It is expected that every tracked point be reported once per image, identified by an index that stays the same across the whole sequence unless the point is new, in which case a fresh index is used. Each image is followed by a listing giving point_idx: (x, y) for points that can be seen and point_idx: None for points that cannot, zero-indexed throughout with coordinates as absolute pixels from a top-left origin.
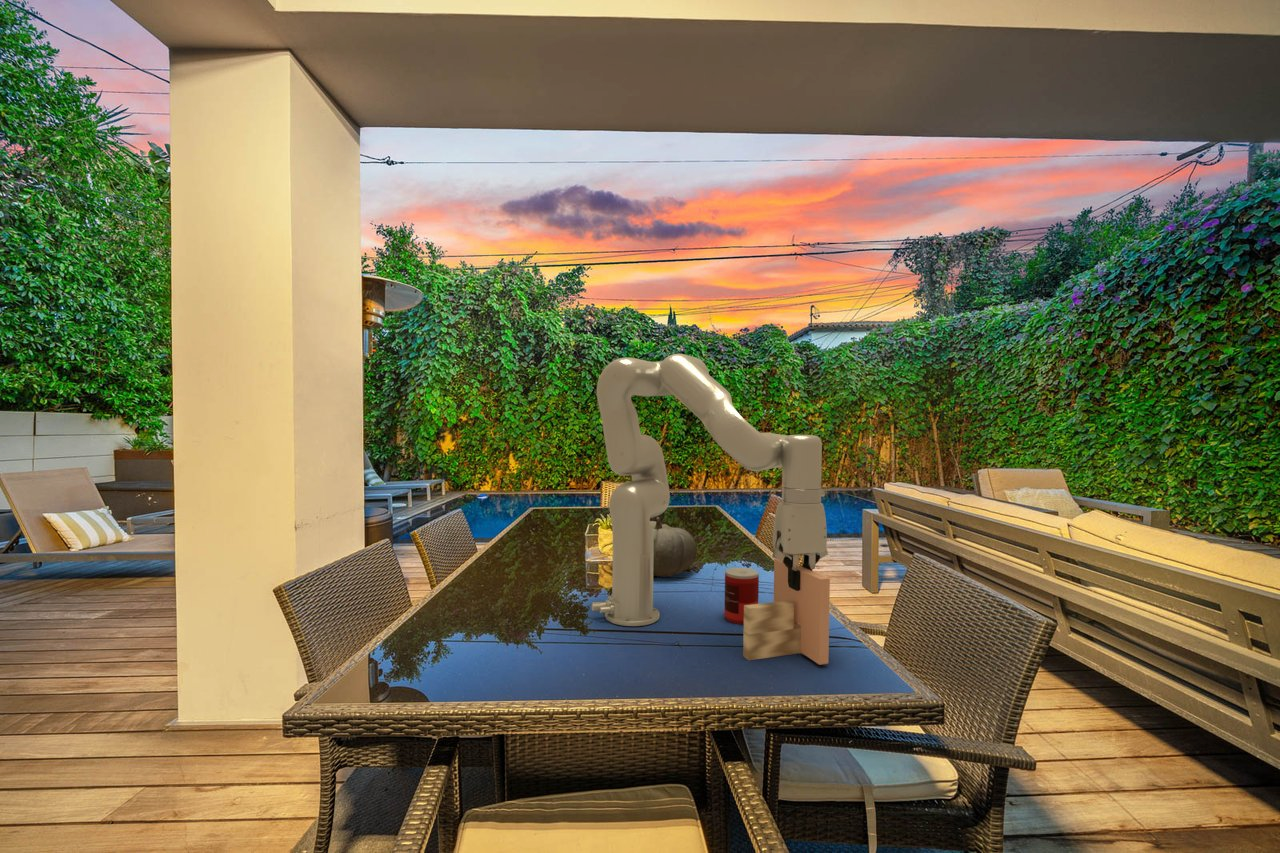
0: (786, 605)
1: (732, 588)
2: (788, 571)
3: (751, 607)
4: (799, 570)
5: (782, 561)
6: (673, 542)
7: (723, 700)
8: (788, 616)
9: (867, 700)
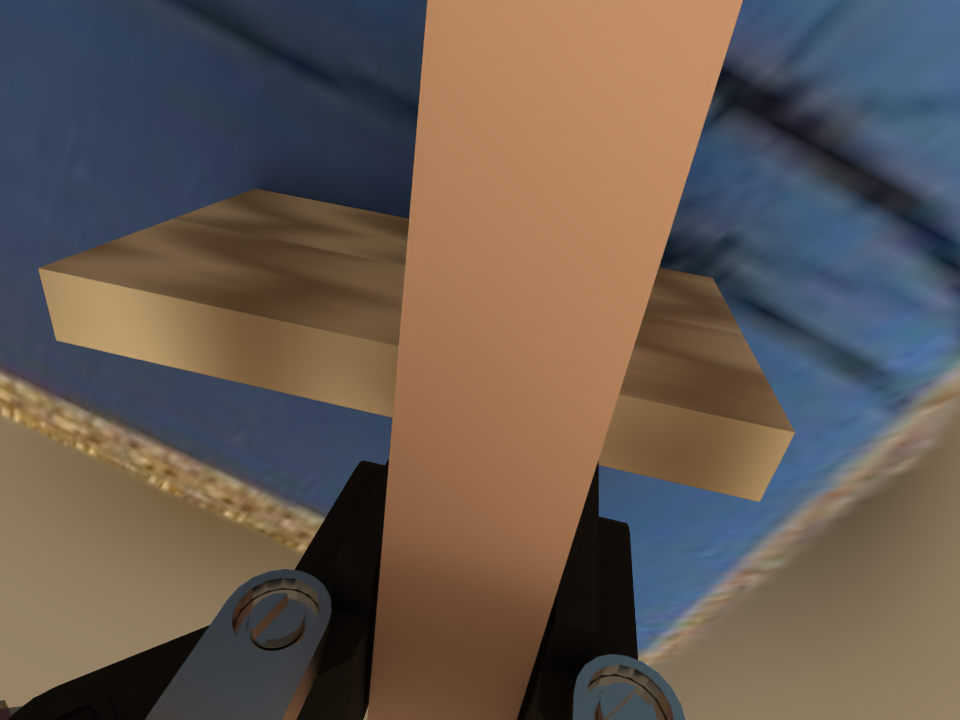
0: (361, 407)
1: None
2: (299, 570)
3: (81, 329)
4: (369, 710)
5: (81, 695)
6: None
7: (67, 420)
8: None
9: None
